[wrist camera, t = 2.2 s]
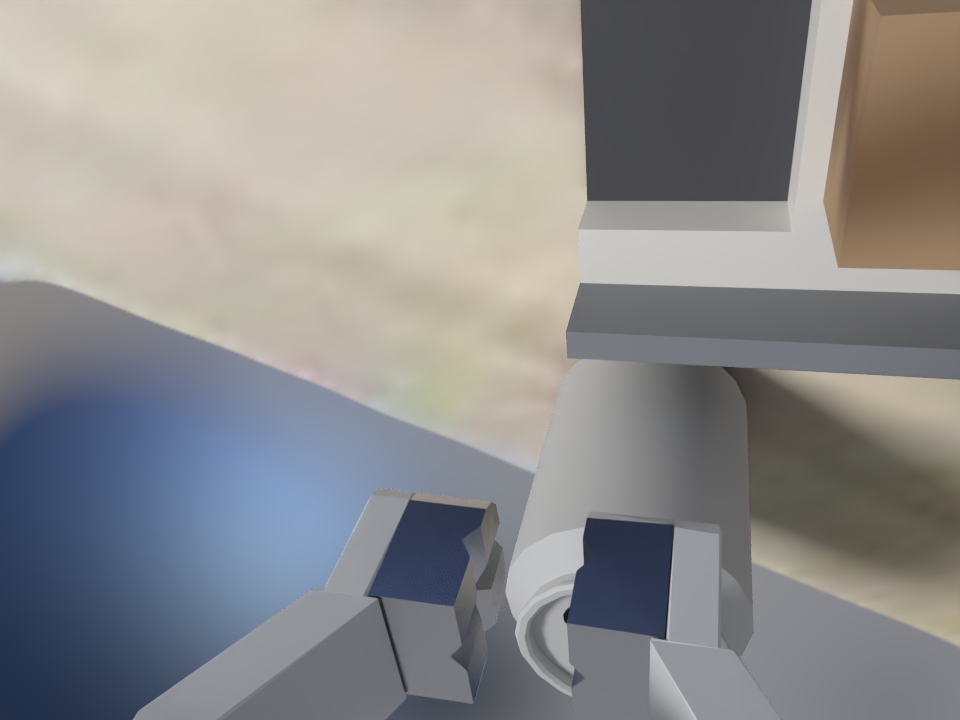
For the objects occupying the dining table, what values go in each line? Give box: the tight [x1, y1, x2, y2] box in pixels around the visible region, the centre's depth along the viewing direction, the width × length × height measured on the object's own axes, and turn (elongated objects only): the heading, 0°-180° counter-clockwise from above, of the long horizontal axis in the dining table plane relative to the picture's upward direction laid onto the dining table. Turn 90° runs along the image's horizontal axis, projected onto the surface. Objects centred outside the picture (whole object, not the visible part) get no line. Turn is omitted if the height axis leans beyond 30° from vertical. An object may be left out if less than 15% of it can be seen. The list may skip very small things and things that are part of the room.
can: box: [506, 359, 753, 697], centre depth 27 cm, size 8×8×12 cm
